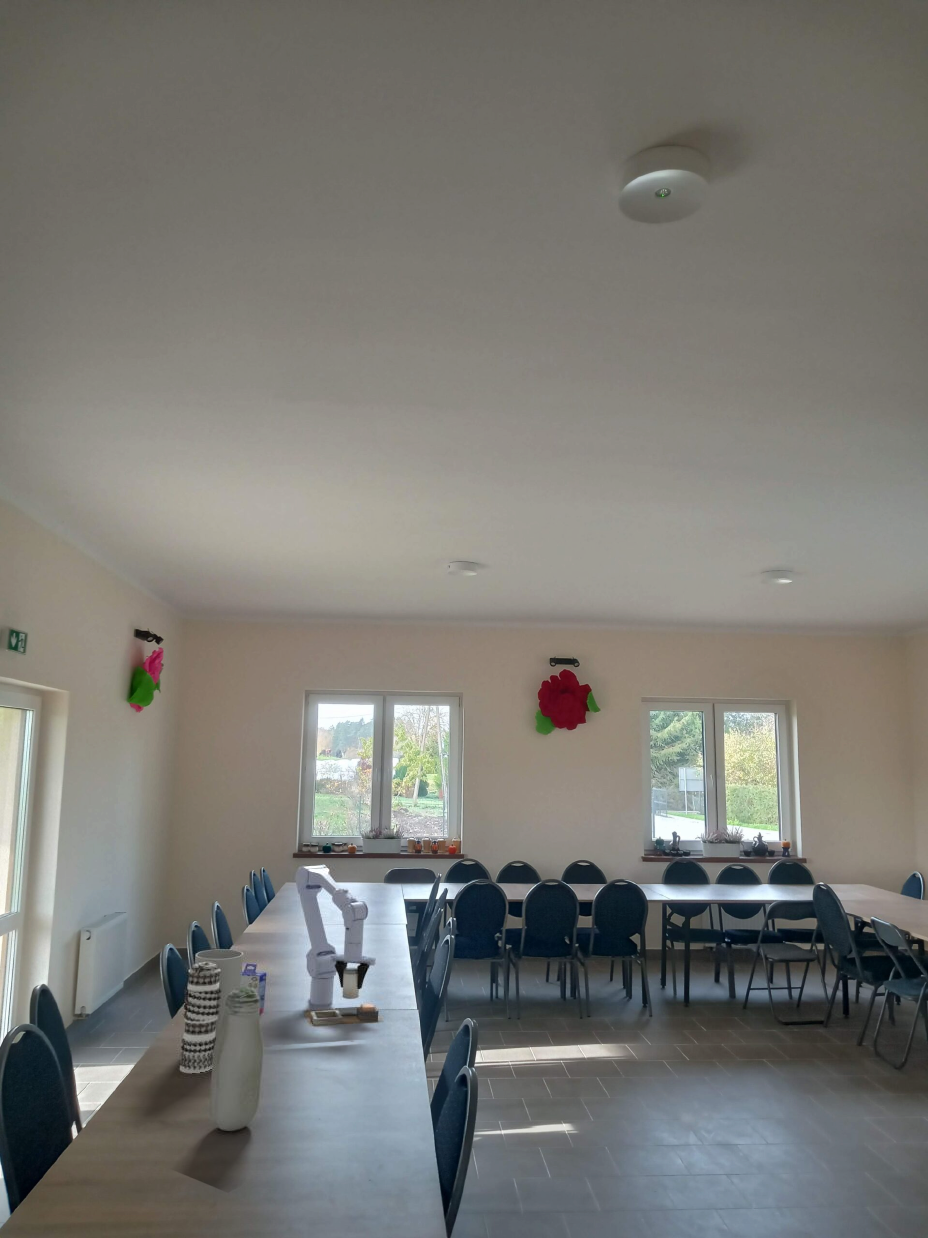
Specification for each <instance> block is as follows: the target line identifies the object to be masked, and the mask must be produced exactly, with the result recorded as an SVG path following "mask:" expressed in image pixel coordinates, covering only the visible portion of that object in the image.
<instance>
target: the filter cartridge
mask: <svg viewBox="0 0 928 1238" xmlns="http://www.w3.org/2000/svg"><path fill="white" fill-rule="evenodd" d="M357 985H358V970H357V967H347V968H345V969H344V972H343V988H342V998H343V999H346V1000H352V999H353V1000H354V999H355V1000H356V999H358V998H359V995H360V994H359V993H360V992H359V991H360V989H358V988H357Z"/></svg>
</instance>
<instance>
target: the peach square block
mask: <svg viewBox="0 0 928 1238" xmlns="http://www.w3.org/2000/svg"><path fill="white" fill-rule="evenodd" d="M374 1006H375V1005H374V1003H366V1004H365V1003H364V1004H363V1003H362V1004H360V1007H361V1011H375V1007H376V1006H375V1007H374Z"/></svg>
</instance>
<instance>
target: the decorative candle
mask: <svg viewBox="0 0 928 1238" xmlns="http://www.w3.org/2000/svg"><path fill="white" fill-rule="evenodd" d="M219 971H221V969H220V968H218V966H217V964H216V963H213V962H199V963H196V964H195V963H194V964H192V967H191V968H190V969H188V972H189V976H188V982H187V987H185V990H183V993H184V995H185V997H184V1005H183V1009H184V1013H183V1021H184V1023H185V1024H184V1030H183V1038H182V1039H181V1043H182V1045H181V1047H180V1048H181V1052H180V1060H179V1071H180V1072H182V1073H184V1074H192V1073H196V1074H201V1073H200V1072H204V1073H206V1072H205V1071H208V1070H210V1069H212V1062H213V1051H214V1045H215V1043H214V1042H215V1041H216V1037H215V1032H216V1029H215V1023H216V1020H217V1019H218V1015H217V1014H218V1013H219V1011H218V1010H216V1009H217V1008H218V1007H219V1006H220V1005H219V1004H218V1003H217V1000H219V999H220V998H221V997H220V996H219V995H218V994H219V993H221V990H220V989H218V988H219ZM210 1071H211V1070H210ZM208 1072H209V1071H208ZM192 1075H193V1074H192Z"/></svg>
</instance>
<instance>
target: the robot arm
mask: <svg viewBox="0 0 928 1238" xmlns="http://www.w3.org/2000/svg"><path fill="white" fill-rule="evenodd" d="M330 871H331V870H330V869H329V868H328V867H327V866H326V865H325V864H319V865H309V866H306V865H305V866H304V865H303V866H301V865H300V866H299V867H298V869H297V871H296V874H295V876H294V880H295V884H296V889H297V891H298V892H297V893H298V895H299V898H300V904H301V907H302V912H303V916H304V920H305V925H306V929H307V934H308V938H309V943H310V946H311V948H310V949H309V950H308V952H307V953H306V955H305V957H306V958H305V959H306V971H307V973H308V975H309V977H311V979H310V990H309V991H310V992H309V1003H310V1004H312V1005H315V1006H326V1005H331V1004H333V1002H334V1001H333V1000H334V999H333V998H334V986H335V985H334V983H335V977H336V976H337V975H338V979H339V983H340V984H339V985H340V988H342V989H343V972H344V969H345V968H348V964H358V965H357V967H356V968H357V970H358V985H357V988H358V989H359V990H361V989H362V988H363V984H364V982H365V981H364V980H365V978H366V975H367V972H368V971H369V968H370V966H375V965H376V957H371V956H366V955H365V956H364V955H363V946H364V945H363V943H364V942H363V941H364V923H365V922H364V921H365V920H366V919H367V918H368V914H369V907H368V906H367V905H368V904H366V902H365V901H363V900H357V898H356V897H354V896H353V895H352V894H351V893H350V892H349V889H348V888H347V887H346V888H345V887H340V886H339V885H338V883H337V882H336V881H335V880H334V879H333V877H332V876H331V873H330ZM322 890H325V891H326V892H327V893H328V894H329V895H330V896H331V902H332V903H333V904H334V905H335V906H336V907H337V908H338V909H339V910H340V911H341V916H342V919H343V926H344V946H343V948H344V949H343V954H342V953H341V954H338V953H337V950H336V947H334V945H332V944H331V943H329V942H328V939H327V938H328V937H327V935H326V930H325V927H324V922H323V919H322V918H323V917H322V914H321V910H320V906H319V901H318V898H317V897H318V894H319V893H321V892H322Z"/></svg>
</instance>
